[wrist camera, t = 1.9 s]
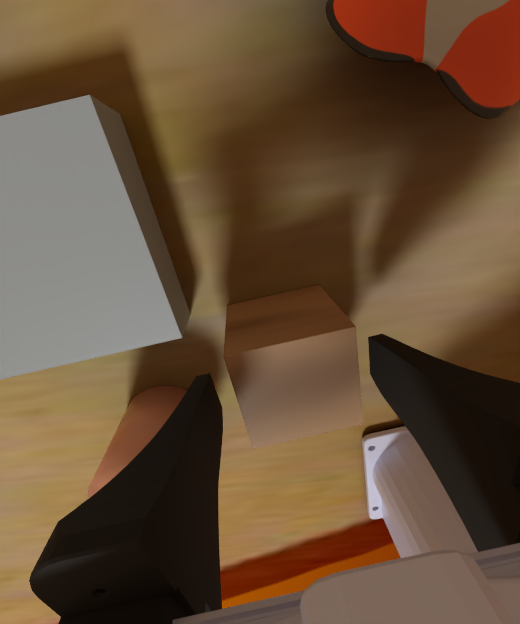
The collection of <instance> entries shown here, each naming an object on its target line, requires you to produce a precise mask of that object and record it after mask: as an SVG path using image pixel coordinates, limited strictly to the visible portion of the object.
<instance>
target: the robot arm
mask: <svg viewBox="0 0 520 624" xmlns="http://www.w3.org/2000/svg"><path fill="white" fill-rule="evenodd" d="M368 340H369V359H370V374H371V376H372V378H373V380H374V382H375V384H376V385H377V387H378V389H379V391H380V392H381V394H382V395H383V397H384V398H385V399H386V401H387V402H388V404H389V405H390V406H391V408H392V409H393V410H394V412H395V413H396V414H397V416H398V417H399V418H400V420H401V421H402V422H403V424H404V425H405V426H403V427H398V428H394V429H389V430H385V431H380V432H376V433H371V434H367V435H365V436H364V437H363V439H362V444H363V457H364V469H365V482H366V494H367V506H368V514H369V516H370V518H371V519H379V518H383V519H384V521H385V523H386V525H387V528H388V530H389V532H390V534H391V537H392V539H393V541H394V543H395V546H396V548H397V550H398V552H399V554H400V557H401V558H400V559H395V560H391V561H386V562H382V563H377V564H373V565H368V566H365V567H360V568H355V569H350V570H346V571H342V572H337V573H334V574H331V575H329V576H326V577H323V578H320V579H318V580H316V581H315V582H314V583H313V584H311V585H310V586H309V587H308V588H306V589H305V591H300V592H296V593H291V594H287V595H282V596H278V597H273V598H269V599H265V600H260V601H255V602H251V603H247V604H242V605H237V606H233V607H228V608H224V609H222V601H221V583H220V559H219V527H218V481H219V469H220V458H221V446H222V434H223V417H222V406H221V403H220V400H219V398H218V395H217V392H216V389H215V386H214V384H213V381H212V378H211V375H210V373H209V374H205V375H200V376H196V378H195V379H194V381H193V382H192V384H191V386H190V387H189V389H188V390H187V392H186V393H185V395H184V396H183V398H182V400H181V401H180V402H179V404H178V405H177V407H176V408H175V410H174V411H173V413H172V414H171V415H170V417H169V418H168V419H167V421H166V422H165V423H164V425H163V426H162V428H161V429H160V430H159V431H158V432H157V434H156V435H155V436H154V437H153V438H152V439H151V441H150V442H149V443H148V444H147V445H146V446H145V447H144V448H143V450H142V451H141V452H140V453H139V454H138V455H137V456H136V457H135V458H134V459H133V460H132V461H131V462H130V463H129V464H128V465H127V466H126V467H125V468H124V469H123V470H121V471H120V472H119V473H118V474H117V475H116V476H115V477H114V478H113V479H112V480H110V481H109V482H108V483H107V484H106V485H105V486H103V487H102V488H101V489H100V490H99V491H98V492H96V493H95V494H94V495H93V496H91V497H90V498H89V499H88V500H86V501H85V502H84V503H82V504H81V505H80V506H78V507H77V508H76V509H75V510H73V511H72V512H71V513H69V514H68V515H67V516H65V517H64V518H63V519H61V520H60V521H58V523H57V525H56V527H55V529H54V531H53V533H52V534H51V536H50V538H49V540H48V542H47V544H46V546H45V548H44V550H43V552H42V554H41V556H40V558H39V559H38V561H37V563H36V565H35V567H34V569H33V571H32V573H31V576H30V580H29V581H30V585H31V588H32V591H33V592H34V593H35V595H36V596H37V597H38V598H39V599H40V600H42V601H43V602H44V603H45V604H46V605H48V606H49V607H50V608H51V609H52V610H53V611H55V612H56V613H57V614H58V615H59V616H61V619H60V621H59V624H520V383H517V382H513V381H509V380H505V379H501V378H497V377H493V376H489V375H485V374H482V373H478V372H475V371H472V370H469V369H466V368H463V367H460V366H457V365H454V364H451V363H448V362H446V361H443V360H441V359H438V358H435V357H433V356H431V355H428V354H426V353H424V352H421V351H419V350H417V349H414V348H412V347H410V346H408V345H406V344H404V343H401V342H399V341H397V340H395V339H393V338H390V337H388V336H386V335H383V334H379V335H375V336H371V337H368Z"/></svg>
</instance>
